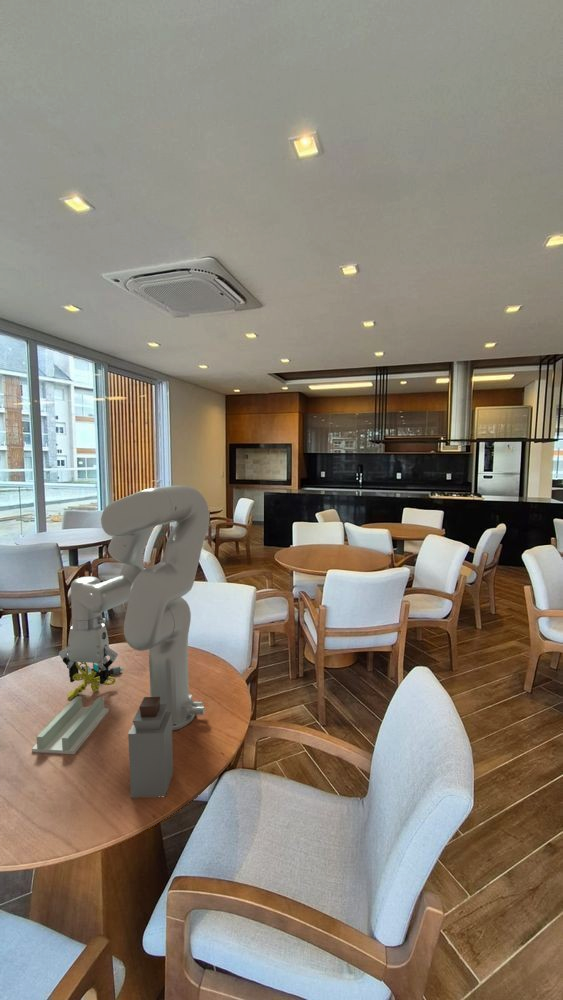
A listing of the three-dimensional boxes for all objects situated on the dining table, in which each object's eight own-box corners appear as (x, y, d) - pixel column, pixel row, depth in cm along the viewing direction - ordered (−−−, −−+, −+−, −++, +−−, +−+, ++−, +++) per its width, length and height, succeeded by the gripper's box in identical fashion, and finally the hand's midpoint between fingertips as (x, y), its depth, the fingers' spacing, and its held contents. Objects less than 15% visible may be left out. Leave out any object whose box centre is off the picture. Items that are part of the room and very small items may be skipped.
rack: (108, 711, 110) (108, 697, 109) (74, 754, 94) (73, 738, 93) (72, 709, 110) (71, 696, 110) (32, 751, 95) (31, 736, 94)
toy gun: (124, 675, 129) (124, 660, 128) (81, 684, 123) (80, 668, 123) (121, 661, 137) (121, 647, 137) (81, 669, 132) (80, 654, 132)
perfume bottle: (173, 771, 89) (170, 691, 87) (165, 797, 82) (162, 711, 80) (141, 772, 89) (138, 692, 87) (130, 798, 82) (127, 712, 80)
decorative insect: (93, 706, 120) (116, 678, 121) (91, 713, 117) (115, 684, 118) (54, 683, 117) (79, 655, 118) (51, 690, 113) (76, 660, 115)
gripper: (123, 617, 119) (124, 675, 121) (65, 614, 121) (67, 671, 123) (110, 628, 112) (112, 689, 114) (48, 625, 113) (51, 686, 115)
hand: (89, 680), depth 118 cm, fingers closed on decorative insect, 8 cm apart
